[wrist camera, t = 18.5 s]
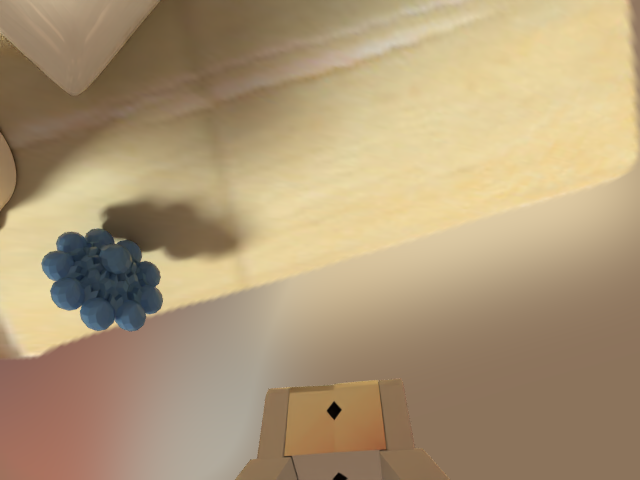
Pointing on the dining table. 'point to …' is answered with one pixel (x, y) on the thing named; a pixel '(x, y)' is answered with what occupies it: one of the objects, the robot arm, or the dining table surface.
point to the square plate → (71, 35)
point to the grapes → (103, 280)
